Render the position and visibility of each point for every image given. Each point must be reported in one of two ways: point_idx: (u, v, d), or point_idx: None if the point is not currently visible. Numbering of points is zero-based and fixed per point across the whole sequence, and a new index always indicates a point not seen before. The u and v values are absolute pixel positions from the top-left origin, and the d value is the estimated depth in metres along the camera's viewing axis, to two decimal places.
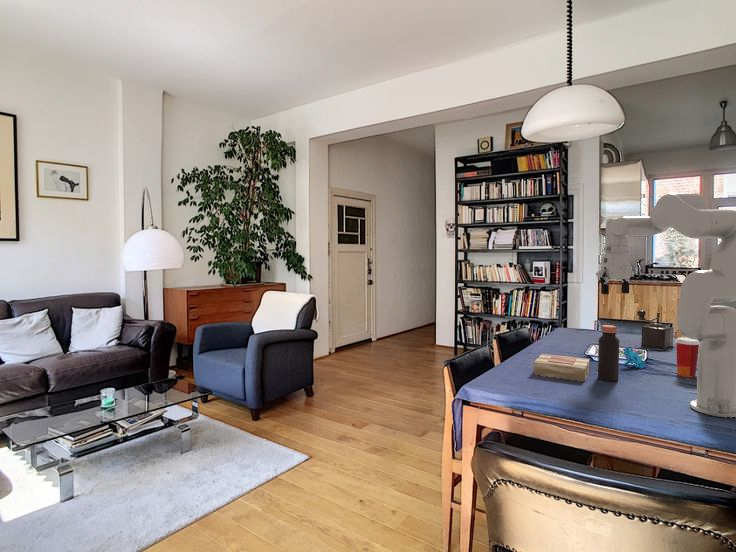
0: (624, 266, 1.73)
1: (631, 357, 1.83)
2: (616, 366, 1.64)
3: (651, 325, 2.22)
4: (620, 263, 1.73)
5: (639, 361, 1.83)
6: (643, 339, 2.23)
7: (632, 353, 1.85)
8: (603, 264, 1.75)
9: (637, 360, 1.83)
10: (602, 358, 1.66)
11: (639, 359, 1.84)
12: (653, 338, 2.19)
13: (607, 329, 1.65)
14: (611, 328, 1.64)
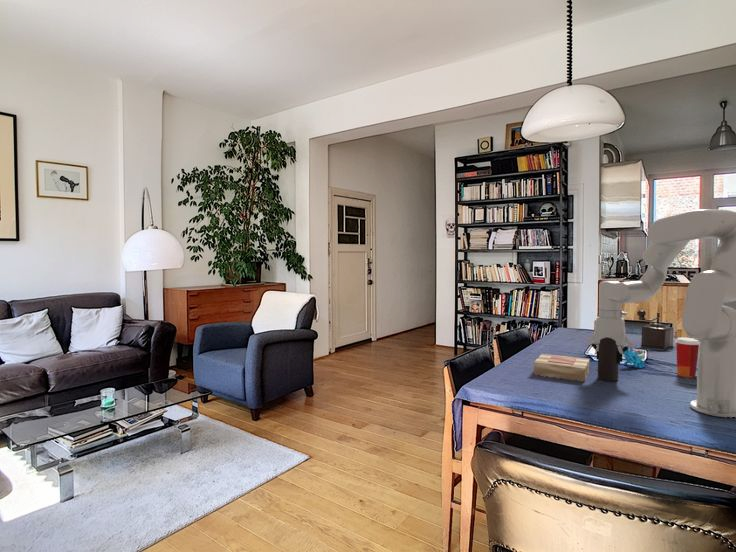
0: None
1: (630, 357, 1.83)
2: (616, 366, 1.64)
3: (651, 325, 2.22)
4: None
5: (638, 361, 1.83)
6: (643, 339, 2.23)
7: (631, 353, 1.85)
8: (624, 330, 1.63)
9: (636, 360, 1.83)
10: (602, 358, 1.66)
11: (638, 359, 1.84)
12: (653, 338, 2.19)
13: None
14: None
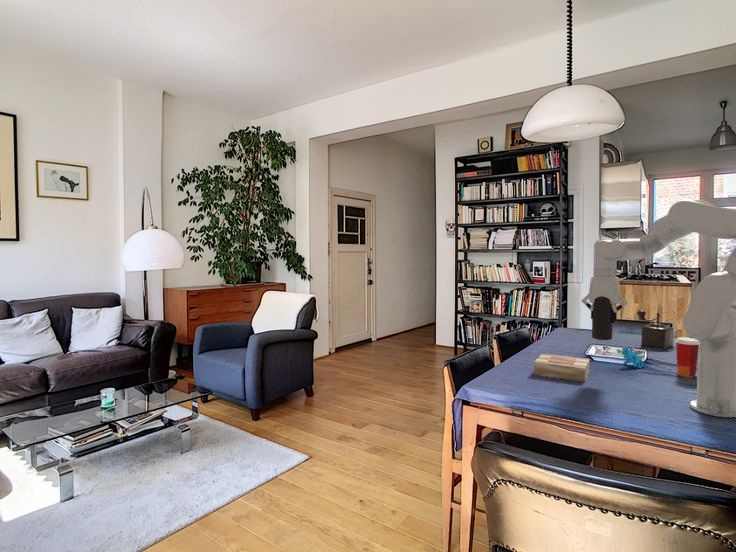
0: None
1: (629, 357, 1.83)
2: (610, 325, 1.65)
3: (651, 325, 2.22)
4: None
5: (638, 361, 1.83)
6: (643, 339, 2.23)
7: (631, 353, 1.86)
8: (619, 289, 1.63)
9: (636, 360, 1.83)
10: (596, 317, 1.66)
11: (638, 359, 1.84)
12: (653, 338, 2.19)
13: None
14: None
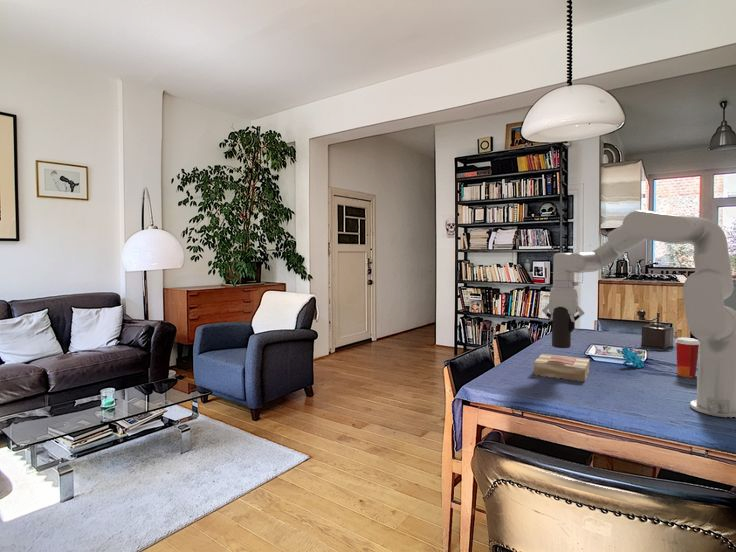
0: None
1: (629, 356, 1.83)
2: (568, 334, 1.72)
3: (651, 325, 2.22)
4: None
5: (637, 361, 1.83)
6: (643, 339, 2.23)
7: (631, 353, 1.86)
8: (576, 300, 1.71)
9: (635, 360, 1.83)
10: (555, 326, 1.74)
11: (638, 359, 1.84)
12: (653, 338, 2.19)
13: None
14: None
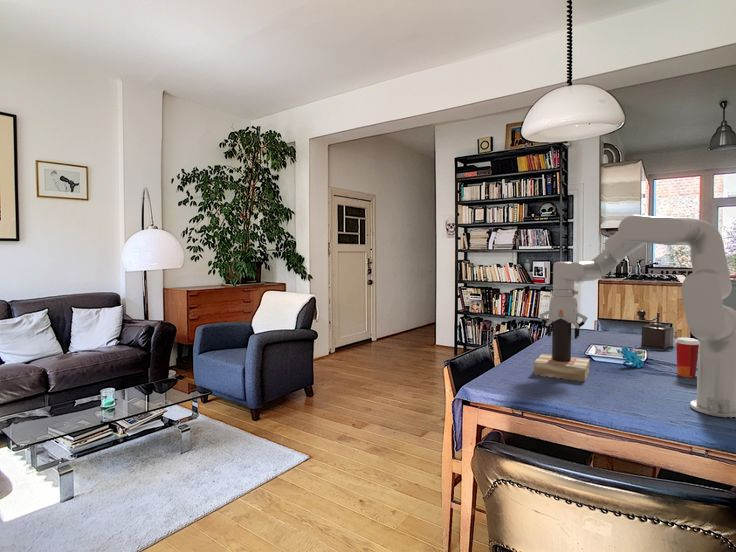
0: None
1: (628, 356, 1.84)
2: (568, 347, 1.72)
3: (651, 325, 2.22)
4: None
5: (637, 361, 1.84)
6: (643, 339, 2.23)
7: (630, 352, 1.86)
8: (576, 308, 1.71)
9: (635, 359, 1.84)
10: (555, 339, 1.74)
11: (637, 359, 1.85)
12: (653, 338, 2.19)
13: (560, 312, 1.73)
14: None
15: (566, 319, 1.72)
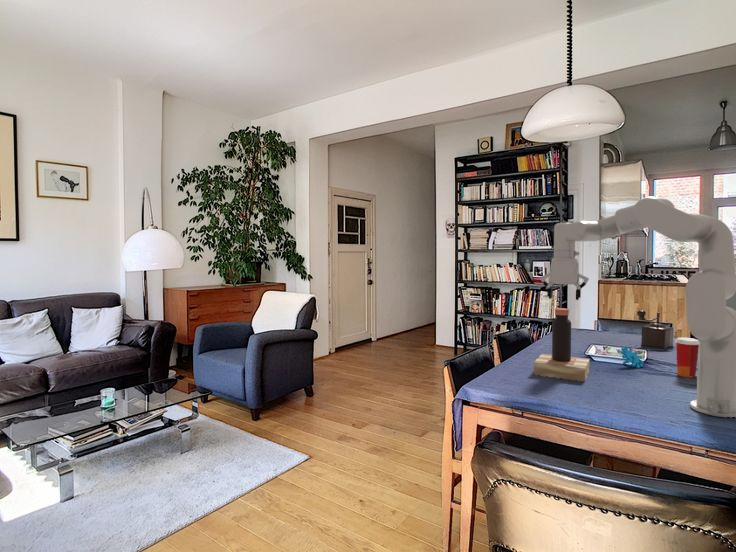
0: None
1: (628, 356, 1.84)
2: (568, 347, 1.72)
3: (651, 325, 2.22)
4: None
5: (637, 361, 1.84)
6: (643, 339, 2.23)
7: (630, 352, 1.86)
8: (577, 269, 1.70)
9: (634, 359, 1.84)
10: (555, 339, 1.74)
11: (637, 359, 1.85)
12: (653, 338, 2.19)
13: (559, 312, 1.73)
14: (563, 310, 1.72)
15: (567, 280, 1.71)
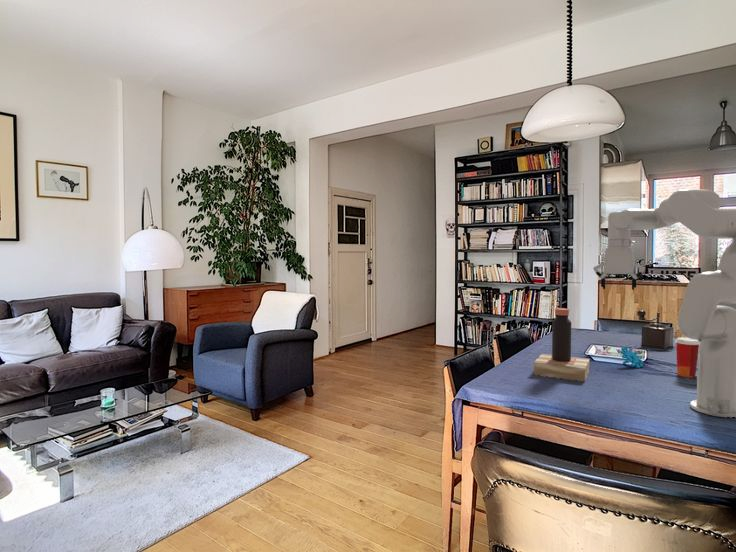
0: None
1: (628, 356, 1.84)
2: (568, 347, 1.72)
3: (651, 325, 2.22)
4: None
5: (636, 360, 1.84)
6: (643, 339, 2.23)
7: (630, 352, 1.86)
8: (633, 258, 1.67)
9: (634, 359, 1.84)
10: (555, 339, 1.74)
11: (637, 358, 1.85)
12: (653, 338, 2.19)
13: (560, 312, 1.73)
14: (563, 310, 1.72)
15: (623, 270, 1.68)
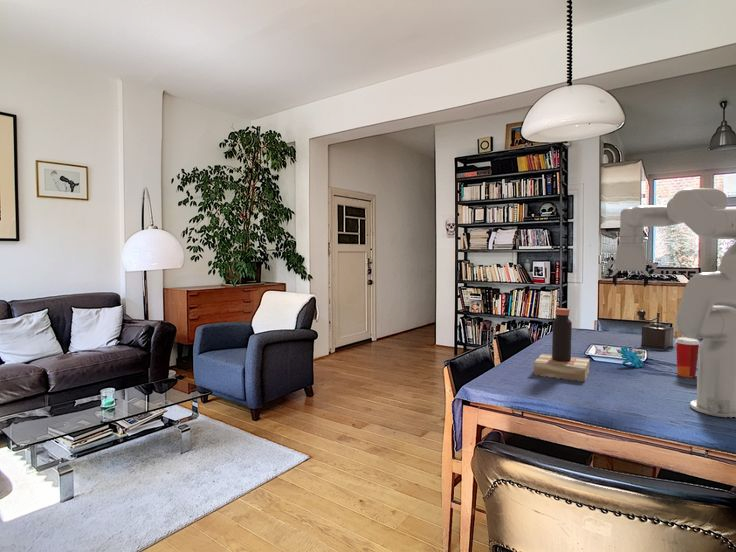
0: None
1: (627, 356, 1.84)
2: (568, 347, 1.72)
3: (651, 325, 2.22)
4: None
5: (636, 360, 1.84)
6: (643, 339, 2.23)
7: (630, 352, 1.86)
8: (645, 255, 1.67)
9: (634, 359, 1.84)
10: (556, 339, 1.74)
11: (637, 358, 1.85)
12: (653, 338, 2.19)
13: (560, 312, 1.73)
14: (564, 310, 1.72)
15: (635, 267, 1.68)
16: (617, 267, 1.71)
